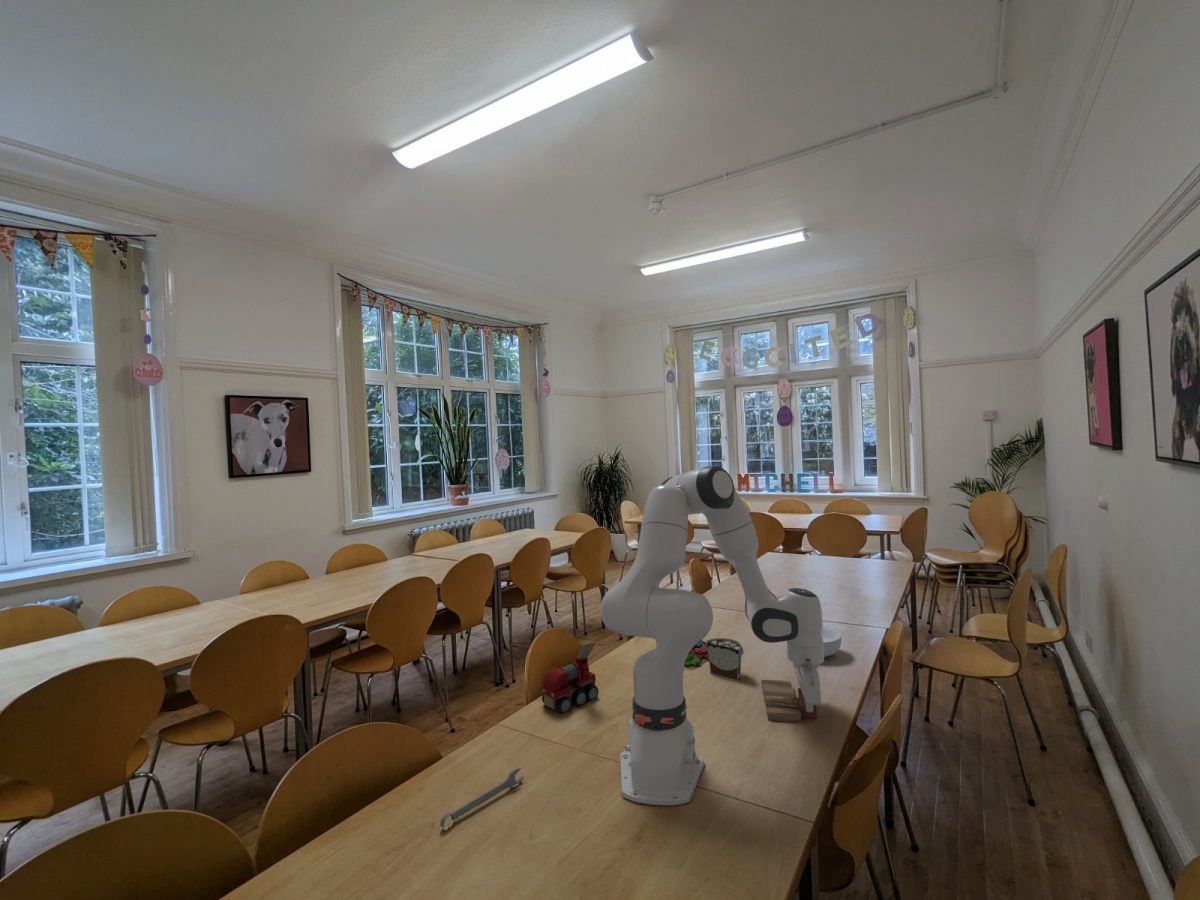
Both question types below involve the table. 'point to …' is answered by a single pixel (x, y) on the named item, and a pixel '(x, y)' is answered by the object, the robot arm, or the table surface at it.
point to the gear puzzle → (696, 655)
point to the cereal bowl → (830, 641)
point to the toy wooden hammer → (791, 700)
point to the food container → (725, 657)
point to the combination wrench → (484, 796)
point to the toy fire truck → (570, 683)
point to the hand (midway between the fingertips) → (807, 706)
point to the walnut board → (779, 709)
